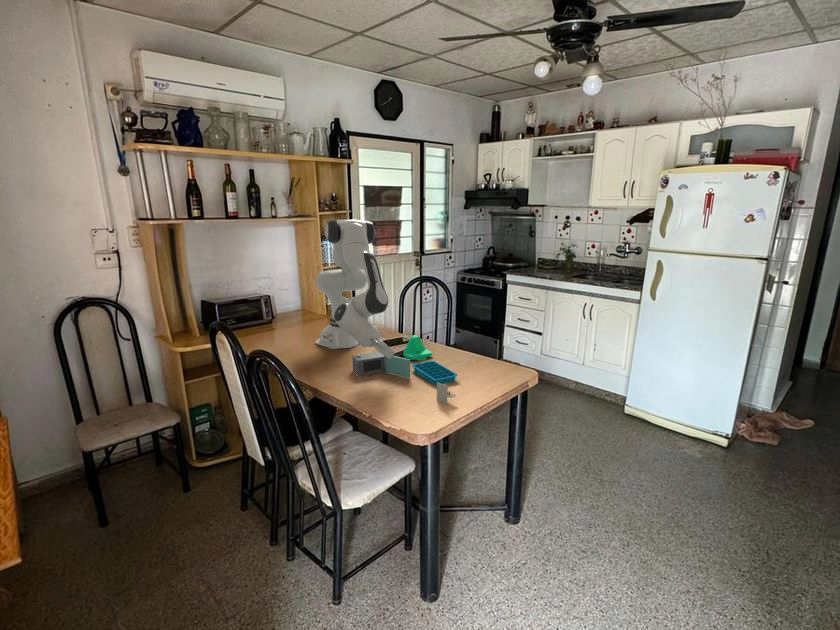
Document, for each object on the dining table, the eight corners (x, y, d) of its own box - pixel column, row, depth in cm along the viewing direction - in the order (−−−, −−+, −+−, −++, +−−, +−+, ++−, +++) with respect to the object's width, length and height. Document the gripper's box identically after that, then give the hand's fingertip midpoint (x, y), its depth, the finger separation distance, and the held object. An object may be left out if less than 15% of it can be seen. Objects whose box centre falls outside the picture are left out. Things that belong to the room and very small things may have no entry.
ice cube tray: (433, 366, 197) (433, 360, 196) (458, 382, 180) (459, 375, 179) (410, 371, 192) (410, 364, 191) (434, 387, 175) (434, 380, 174)
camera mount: (411, 362, 202) (411, 341, 200) (403, 357, 208) (403, 336, 206) (433, 357, 208) (433, 337, 206) (424, 353, 215) (424, 333, 212)
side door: (383, 372, 189) (383, 354, 187) (385, 371, 190) (385, 353, 188) (409, 378, 182) (409, 360, 180) (410, 377, 183) (410, 359, 181)
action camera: (384, 365, 197) (383, 349, 195) (390, 370, 191) (390, 354, 189) (352, 370, 191) (352, 354, 189) (358, 376, 184) (357, 359, 183)
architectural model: (442, 398, 165) (443, 379, 163) (455, 404, 160) (456, 385, 158) (436, 400, 163) (436, 382, 161) (449, 407, 158) (449, 387, 156)
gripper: (383, 336, 164) (406, 357, 171) (364, 323, 182) (386, 342, 189) (372, 349, 164) (396, 370, 170) (354, 335, 181) (376, 354, 188)
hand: (390, 355), depth 180 cm, fingers closed
